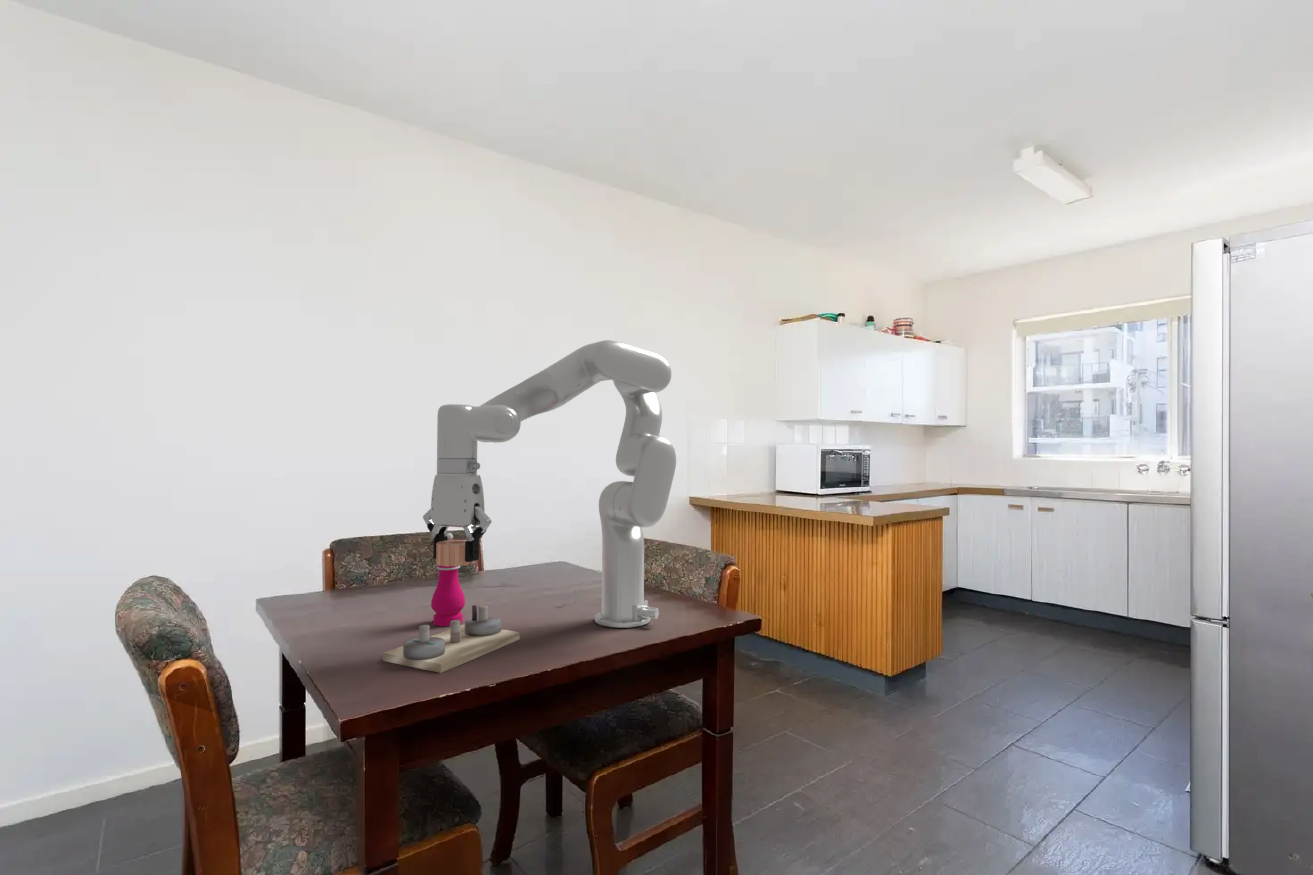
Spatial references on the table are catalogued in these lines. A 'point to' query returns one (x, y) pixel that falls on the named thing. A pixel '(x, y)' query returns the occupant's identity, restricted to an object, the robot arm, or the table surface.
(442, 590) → the pepper mill
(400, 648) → the board
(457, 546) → the gear
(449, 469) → the robot arm
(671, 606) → the table surface
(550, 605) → the table surface
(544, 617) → the table surface
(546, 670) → the table surface
